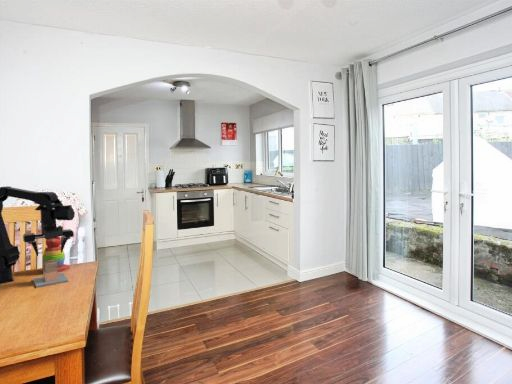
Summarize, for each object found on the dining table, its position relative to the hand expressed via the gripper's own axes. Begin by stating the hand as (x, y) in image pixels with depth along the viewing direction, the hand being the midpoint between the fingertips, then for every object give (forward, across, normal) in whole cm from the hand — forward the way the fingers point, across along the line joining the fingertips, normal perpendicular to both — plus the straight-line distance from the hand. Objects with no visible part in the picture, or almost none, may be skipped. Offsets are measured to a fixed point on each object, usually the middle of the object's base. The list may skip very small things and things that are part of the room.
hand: (49, 254), depth 143 cm
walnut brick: (+8, 0, 0) cm, 8 cm away
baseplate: (+12, 0, 0) cm, 12 cm away
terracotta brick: (+12, 0, 0) cm, 12 cm away
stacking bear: (+13, +4, +16) cm, 21 cm away
